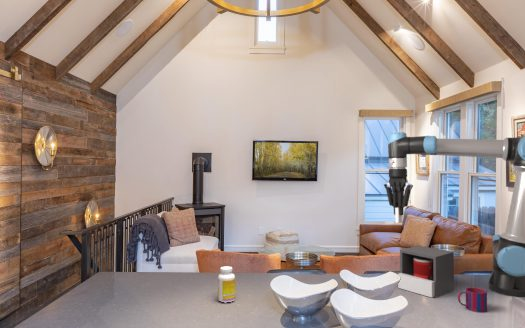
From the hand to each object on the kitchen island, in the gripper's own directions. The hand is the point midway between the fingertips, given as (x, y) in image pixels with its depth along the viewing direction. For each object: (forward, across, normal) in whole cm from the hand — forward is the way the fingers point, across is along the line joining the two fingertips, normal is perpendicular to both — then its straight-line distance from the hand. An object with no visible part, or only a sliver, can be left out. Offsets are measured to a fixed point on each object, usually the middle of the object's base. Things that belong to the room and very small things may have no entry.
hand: (398, 222), depth 163 cm
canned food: (+26, +9, +3) cm, 27 cm away
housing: (+28, +9, +6) cm, 30 cm away
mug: (+28, +31, -3) cm, 42 cm away
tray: (+27, +9, +4) cm, 29 cm away
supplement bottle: (+27, -31, -69) cm, 80 cm away
